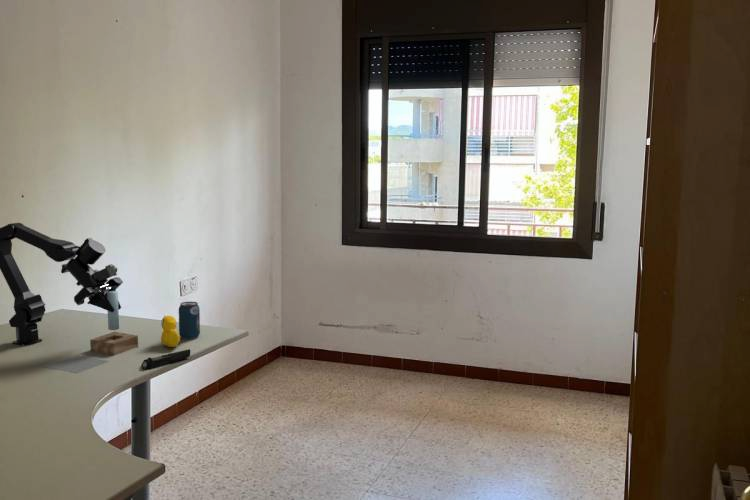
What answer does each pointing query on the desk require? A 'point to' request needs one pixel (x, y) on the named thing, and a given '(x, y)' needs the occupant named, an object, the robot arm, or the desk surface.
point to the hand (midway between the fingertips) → (116, 310)
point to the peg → (114, 316)
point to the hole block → (114, 343)
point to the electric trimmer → (165, 359)
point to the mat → (75, 363)
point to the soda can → (189, 320)
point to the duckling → (169, 332)
